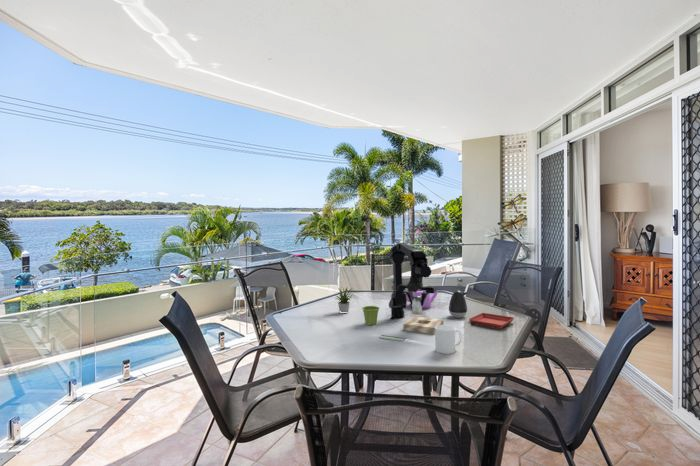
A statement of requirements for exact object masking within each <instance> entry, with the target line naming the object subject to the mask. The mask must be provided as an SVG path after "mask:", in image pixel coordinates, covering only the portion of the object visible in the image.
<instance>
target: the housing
mask: <svg viewBox="0 0 700 466" xmlns="http://www.w3.org/2000/svg"><path fill="white" fill-rule="evenodd" d="M444 321H445V320H444V319H440V318H430V317H422V316H415V315H414V316H413V317H411V318H410V319H408V320H407V321H405V322H403V325H402V326H403V331H409V332H417V333H424V334H430V335H435V327H436V326H438V325H445V324H444Z"/></svg>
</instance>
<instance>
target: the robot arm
mask: <svg viewBox="0 0 700 466" xmlns="http://www.w3.org/2000/svg"><path fill="white" fill-rule="evenodd" d="M405 256H407V259H408V260H409V265H410V277H409V281H408V283H403V270H402V265H403V263H404V261H405ZM388 257H389V261H390V262H391V264H392V270H393V271H392V272H393V275H392V276H393V291H392V293H391V297H390V300H389V301H388V307H389V309H391V310H390V311H391V314H390V315H391V317H390V318H389V319H390V320H395V319H404V318H405V309H406V308H407V302H408V301H407V299H406V294H407V296H408V298H409V300H410V302H409V303H410V306H411V305H412V296H413V292H417V291H418V290H419V291H423V293H421V295H422V301H421V306H423V304H424V301H425V299H426V296H427V294H429V293H430V294H434V293H435V292H438V290H437V289H438V288H437V286H436V285H427V286H424V283H423V278H425V279H426V278H429V277H430V276H431V274H432V269H431V267H429V266H428V259H427V256H426V254H425V252H424V250H423V249H421V248H414V247H412V246H410V245H409V244H407V242H398V243H396V245H394V246H392V247H391V248H390V250H389V252H388Z"/></svg>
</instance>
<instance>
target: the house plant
mask: <svg viewBox="0 0 700 466" xmlns="http://www.w3.org/2000/svg"><path fill="white" fill-rule="evenodd" d="M341 287H342V289H341V288H340V287H338V295H339V296H338V295H335V298H334V299H335V300H338V302H337V304H338V305H337V306H338V310H339V312H340V311H341V312H348V313H349V311H350V304H351V303H350V301H351V299H352V298H353V294H351V293H353V292H354V291H355V289H354V287H351V288H350V289H349V290H348V287H345V289H344V287H343V286H341ZM333 291H334V292H336V290H335V289H333ZM350 294H351V295H350Z"/></svg>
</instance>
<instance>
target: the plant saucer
mask: <svg viewBox="0 0 700 466" xmlns="http://www.w3.org/2000/svg"><path fill="white" fill-rule="evenodd" d="M514 320H515V317H514V316H506V315H501V314H495V313H494V314H493V313H487V312H481V313H479V314H477V315H475V316H473V317H470V318H468V321H469V322H470V323H471V324H473V325H475V326H480V327H487V328H491V329H497V330H502V329H503V328H505V327H506V326H508V325H509V324H511V323H512V322H513V321H514Z"/></svg>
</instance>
